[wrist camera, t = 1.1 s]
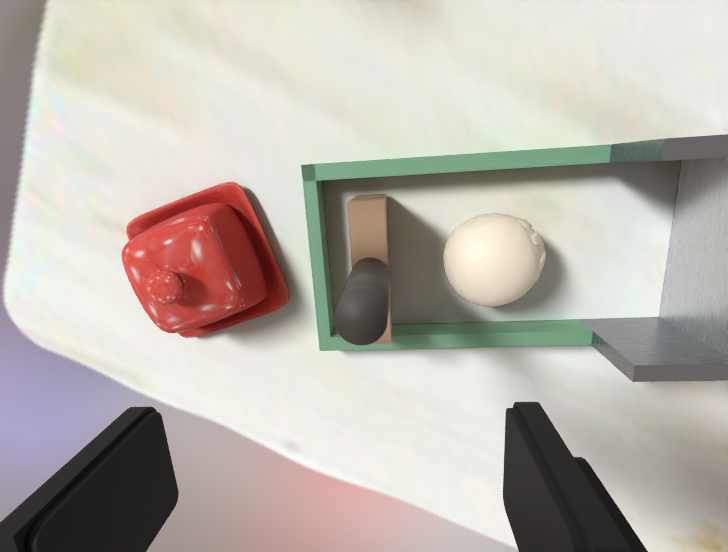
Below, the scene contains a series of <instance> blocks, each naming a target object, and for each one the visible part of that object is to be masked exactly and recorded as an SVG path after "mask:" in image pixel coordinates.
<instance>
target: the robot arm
mask: <svg viewBox="0 0 728 552" xmlns="http://www.w3.org/2000/svg"><path fill="white" fill-rule="evenodd" d="M177 500H178V488H177V483H176V479H175V474H174V470H173V465H172V461H171V456H170V452H169V447H168V443H167V438H166V434H165V429H164V425H163V420H162V416H161V414H160V413H158V412H156V410H155V409H154V408H153V407H131V408H129V409H127V410H126V411H125V412H124V413H122V414H121V415H120V416H119V417H118V418H117V419H116V420H115V421H114V422H112V423H111V424H110V425H109V426H108V427H107V428H106V429H105V430H103V431H102V432H101V433H100V434H99V435H98V436H97V437H96V438H95V439H93V440H92V441H91V442H90V443H89V444H88V445H87V446H85V447H84V448H83V449H82V450H81V451H80V452H79V453H78V454H77V455H76V456H74V457H73V458H72V459H71V460H70V461H69V462H68V463H67V464H65V465H64V466H63V467H62V468H61V469H60V470H59V471H57V472H56V473H55V474H54V475H53V476H52V477H51V478H50V479H49V480H47V481H46V482H45V483H44V484H43V485H42V486H41V487H40V488H38V489H37V490H36V491H35V492H34V493H33V494H32V495H31V496H29V498H27V499H26V500H25V501H24V502H23V503H22V504H20V505H19V506H18V507H17V508H16V509H15V510H14V511H13V512H12V513H11V514H9V515H8V516H7V517H6V518H5V519H4V520H3V521H2V522H0V552H146V551H147V549H148V547H149V546H150V545H151V543H152V541H153V540H154V538H155V537H156V535H157V534H158V532H159V531H160V529H161V528H162V526H163V524H164V523H165V521H166V520H167V518H168V517H169V515H170V514H171V512H172V511H173V509H174V508H175V506H176V503H177ZM503 500H504V506H505V510H506V513H507V516H508V519H509V522H510V525H511V528H512V531H513V534H514V538H515V541H516V544H517V547H518V550H519V552H648V551H647V550H646V548H645V547H644V545H643V544H642V542H641V541H640V539H639V538H638V536H637V535H636V533H635V532H634V530H633V529H632V527H631V526H630V524H629V523H628V521H627V520H626V519H625V517H624V516H623V514H622V513H621V511H620V510H619V508H618V507H617V505H616V504H615V502H614V501H613V499H612V498H611V496H610V495H609V493H608V492H607V490H606V489H605V487H604V486H603V484H602V483H601V481H600V480H599V478H598V477H597V475H596V474H595V472H594V471H593V469H592V468H591V466H590V465H589V463H588V462H587V461H586V460H585V459H583V458H582V457H573V456H572V454H571V453H570V451H569V449H568V448H567V446H566V445H565V443H564V441H563V440H562V438H561V437H560V435H559V434H558V432H557V430H556V429H555V427H554V426H553V424H552V422H551V421H550V419H549V418H548V416H547V415H546V413H545V411H544V410H543V408H542V407H541V405H540V404H539V403H538V402H515V403H514V405H513V408H507V410H506V425H505V453H504V481H503Z"/></svg>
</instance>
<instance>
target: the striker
mask: <svg viewBox="0 0 728 552" xmlns="http://www.w3.org/2000/svg"><path fill="white" fill-rule="evenodd" d="M347 204H348V218H349V232H350V245H351V259H352V272H351V274H350V276H349V279H348V281H347V284H346V286H345V288H344V291H343V293H342V296H341V298H340V300H339V303H338V305H337V308H336V310H335V313H334V326H335V329H336V331H337V333H338V334H339V335H340V336H341V337H342V338H343V339H344V340H345V341H347V342H349V343H351V344H354V345H369V344H388V343H391V330H392V304H391V282H390V260H389V238H388V216H387V194H377V195H360V196H356V197H354V198H353V199H351V200H350V201H349V202H347Z"/></svg>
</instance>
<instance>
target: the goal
mask: <svg viewBox="0 0 728 552" xmlns="http://www.w3.org/2000/svg"><path fill="white" fill-rule="evenodd" d="M672 160H682V163H681V169H680V176H679V183H678V190H677V197H676V204H675V210H674V217H673V224H672V231H671V238H670V244H669V251H668V258H667V265H666V272H665V279H664V285H663V292H662V299H661V306H660V313H659V317H647V318H612V319H579V320H580V321H581V322H583V323H584V324H585V325H586V326H587V327H589V328H590V329H591V330H592V331H593V332H592V342H591V345H592V346H593V347H594V348H595V349H597V350H598V351H599V352H600V353H601V354H602V355H603V356H604V357H605V358H607V359H608V360H609V361H610V362H611V363H612V364H613V365H614V366H616V367H617V368H618V369H619V370H620V371H621V372H622V373H623V374H624V375H626V376H627V377H628V378H629V379H630V380H631V381H632V382H645V381H715V380H728V135H713V136H698V137H683V138H668V139H658V140H648V141H639V142H630V143H621V144H612V145H611V152H610V162H646V161H672Z"/></svg>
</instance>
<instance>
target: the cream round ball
mask: <svg viewBox="0 0 728 552" xmlns="http://www.w3.org/2000/svg"><path fill="white" fill-rule="evenodd" d="M443 260H444V267H445V272H446V275H447V278H448V280H449V282H450V284H451V285H452V287H453V288H454V290H455V291H456V292H457V293H458V294H459V295H460V296H462V297H463V298H464V299H466V300H467V301H469V302H471V303H474V304H476V305H480V306H487V307H493V306H500V305H504V304H508V303H511V302H513V301H515V300H517V299H519V298H520V297H522V296H523V295H524V294H526V293H527V292H528V291H529V289H530V288H531V287H532V286H533V285H534V284H535V283H536V281H538V279H539V277H540V275H541V273H542V268H543V266H544V265H545V261H546V252H545V251H544V243H543V240H542V237H541V236H540V234H539V233H538V232H537V231H534V230H533V229H532V226H531V224H530V223H528V222H527V221H526V220H522V219H519V218H515V217H513V216H510V215H505V214H497V213H493V214H485V215H480V216H477V217H474V218H471V219H469V220H467V221H466V222H464V223H463V224H461V225H460V226H458V227H457V228H455V229H454V231H453V232H452V233H451V235H450V237H449V238H448V240H447V243H446V245H445V250H444V256H443Z"/></svg>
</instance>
